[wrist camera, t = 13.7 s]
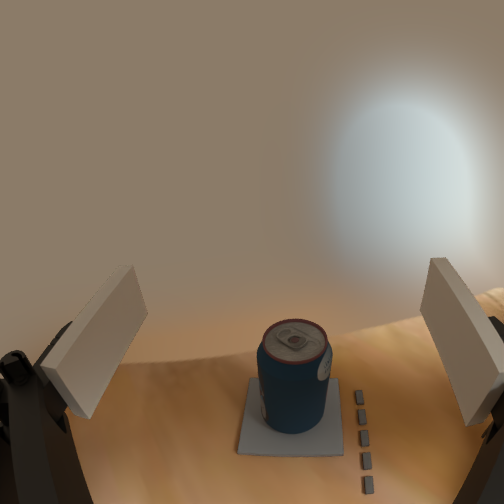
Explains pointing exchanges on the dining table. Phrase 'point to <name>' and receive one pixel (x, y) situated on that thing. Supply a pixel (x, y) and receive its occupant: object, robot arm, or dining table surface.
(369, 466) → the perforation line
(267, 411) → the soda can
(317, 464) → the dining table surface
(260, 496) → the dining table surface
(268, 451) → the slate pad
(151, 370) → the dining table surface
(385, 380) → the dining table surface
